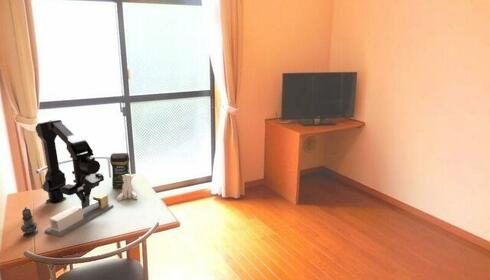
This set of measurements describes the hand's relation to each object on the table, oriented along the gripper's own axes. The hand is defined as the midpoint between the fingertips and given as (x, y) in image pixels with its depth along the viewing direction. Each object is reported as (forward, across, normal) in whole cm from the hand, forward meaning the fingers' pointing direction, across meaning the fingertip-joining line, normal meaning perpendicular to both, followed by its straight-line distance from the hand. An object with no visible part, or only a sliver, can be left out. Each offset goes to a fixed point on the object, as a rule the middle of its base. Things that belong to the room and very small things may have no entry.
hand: (85, 201), depth 156 cm
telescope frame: (+7, -2, 0) cm, 7 cm away
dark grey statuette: (+7, -21, +9) cm, 24 cm away
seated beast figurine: (+7, +23, -3) cm, 24 cm away
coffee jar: (+7, +32, +9) cm, 34 cm away
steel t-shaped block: (+5, -3, 0) cm, 6 cm away
